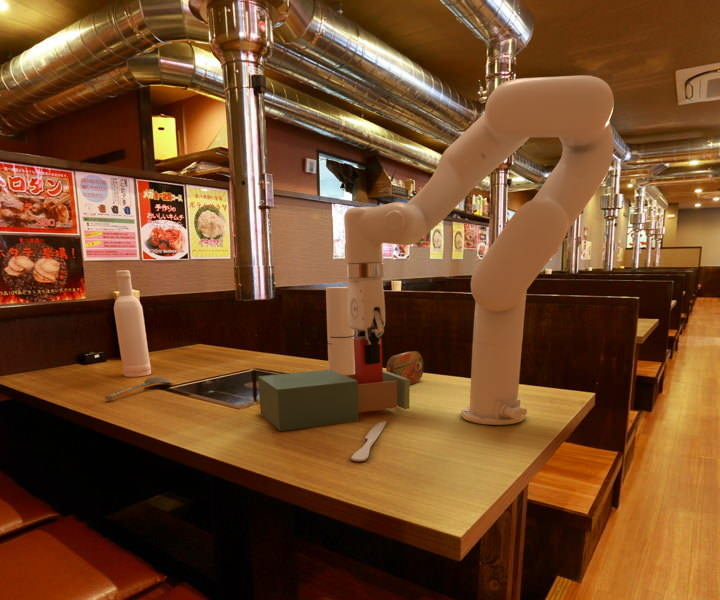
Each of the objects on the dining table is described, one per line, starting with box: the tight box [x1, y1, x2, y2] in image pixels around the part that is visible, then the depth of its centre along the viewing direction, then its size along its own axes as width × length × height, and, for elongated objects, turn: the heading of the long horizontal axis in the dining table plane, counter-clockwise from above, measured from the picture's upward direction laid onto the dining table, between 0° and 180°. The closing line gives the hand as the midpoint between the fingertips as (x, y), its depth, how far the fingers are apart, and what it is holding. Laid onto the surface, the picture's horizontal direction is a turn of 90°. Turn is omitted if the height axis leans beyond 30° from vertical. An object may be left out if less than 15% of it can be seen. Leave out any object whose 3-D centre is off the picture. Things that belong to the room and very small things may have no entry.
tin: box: [385, 350, 425, 386], centre depth 147 cm, size 15×3×8 cm, turn 143°
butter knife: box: [350, 420, 388, 463], centre depth 101 cm, size 1×24×3 cm
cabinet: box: [257, 369, 360, 432], centre depth 116 cm, size 17×15×8 cm
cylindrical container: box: [325, 286, 355, 375], centre depth 147 cm, size 7×7×25 cm
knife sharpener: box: [354, 335, 384, 384], centre depth 119 cm, size 4×5×10 cm
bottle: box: [113, 269, 152, 378], centre depth 163 cm, size 8×8×30 cm
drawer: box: [345, 369, 411, 413], centre depth 121 cm, size 17×14×6 cm
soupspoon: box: [104, 376, 173, 402], centre depth 144 cm, size 22×3×7 cm
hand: (368, 361), depth 119 cm, fingers closed on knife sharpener, 3 cm apart
